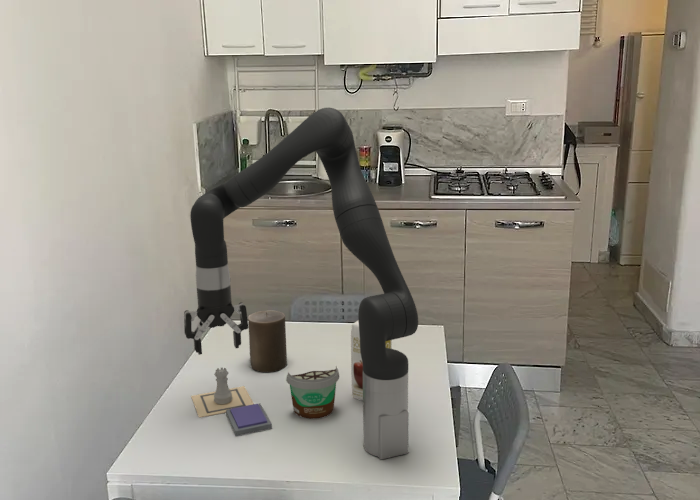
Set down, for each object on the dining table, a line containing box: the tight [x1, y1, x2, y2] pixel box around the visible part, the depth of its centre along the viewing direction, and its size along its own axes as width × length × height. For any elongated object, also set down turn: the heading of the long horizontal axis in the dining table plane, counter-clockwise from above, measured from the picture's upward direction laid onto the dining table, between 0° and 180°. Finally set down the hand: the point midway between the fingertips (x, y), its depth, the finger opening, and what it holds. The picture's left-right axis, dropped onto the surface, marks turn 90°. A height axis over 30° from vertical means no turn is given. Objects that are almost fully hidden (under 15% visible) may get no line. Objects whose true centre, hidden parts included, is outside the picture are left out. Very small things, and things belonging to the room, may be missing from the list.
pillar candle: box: [247, 309, 288, 373], centre depth 179 cm, size 10×10×15 cm
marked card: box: [190, 385, 255, 419], centre depth 162 cm, size 11×13×1 cm
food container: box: [285, 365, 340, 420], centre depth 154 cm, size 12×6×10 cm, turn 105°
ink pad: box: [225, 403, 273, 437], centre depth 153 cm, size 10×8×2 cm
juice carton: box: [350, 320, 393, 401], centre depth 161 cm, size 8×9×19 cm
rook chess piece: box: [214, 367, 233, 405], centre depth 161 cm, size 4×4×8 cm
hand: (218, 350), depth 158 cm, fingers open, 8 cm apart
